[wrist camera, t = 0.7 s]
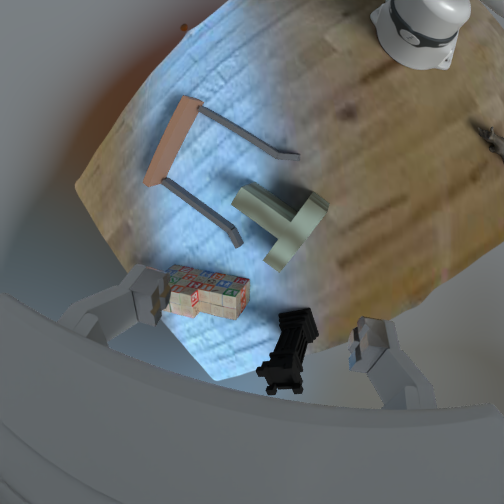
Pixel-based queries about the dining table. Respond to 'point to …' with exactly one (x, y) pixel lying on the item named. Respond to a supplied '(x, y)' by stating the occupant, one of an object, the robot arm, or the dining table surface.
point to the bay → (172, 144)
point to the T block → (280, 220)
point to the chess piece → (289, 352)
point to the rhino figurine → (493, 141)
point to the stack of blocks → (206, 293)
